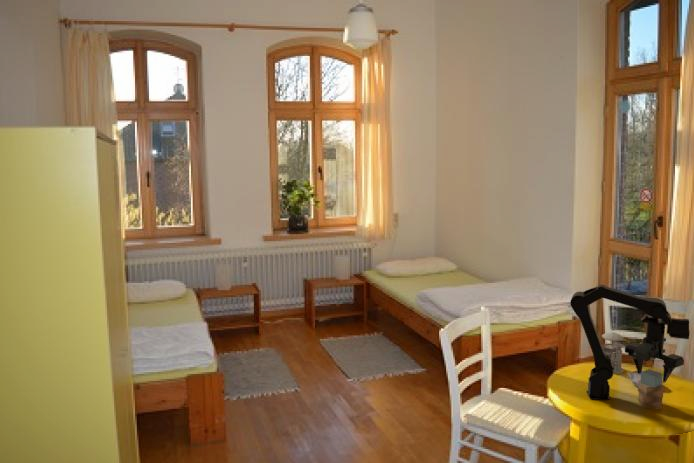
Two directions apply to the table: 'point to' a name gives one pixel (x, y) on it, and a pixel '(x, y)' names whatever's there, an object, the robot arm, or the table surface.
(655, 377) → the slate block
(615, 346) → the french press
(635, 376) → the stone block
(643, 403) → the tower base
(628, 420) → the table surface
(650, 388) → the tower mid
